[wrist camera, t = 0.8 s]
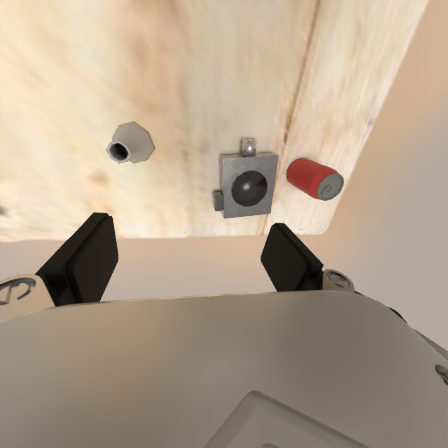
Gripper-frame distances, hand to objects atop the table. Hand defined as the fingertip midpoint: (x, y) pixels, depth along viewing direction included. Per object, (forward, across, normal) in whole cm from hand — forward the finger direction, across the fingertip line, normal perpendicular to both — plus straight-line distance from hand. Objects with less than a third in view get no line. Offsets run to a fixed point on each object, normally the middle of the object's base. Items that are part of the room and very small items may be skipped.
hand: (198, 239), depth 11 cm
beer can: (+32, -27, +1) cm, 42 cm away
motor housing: (+32, -13, +4) cm, 35 cm away
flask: (+32, +10, 0) cm, 34 cm away
